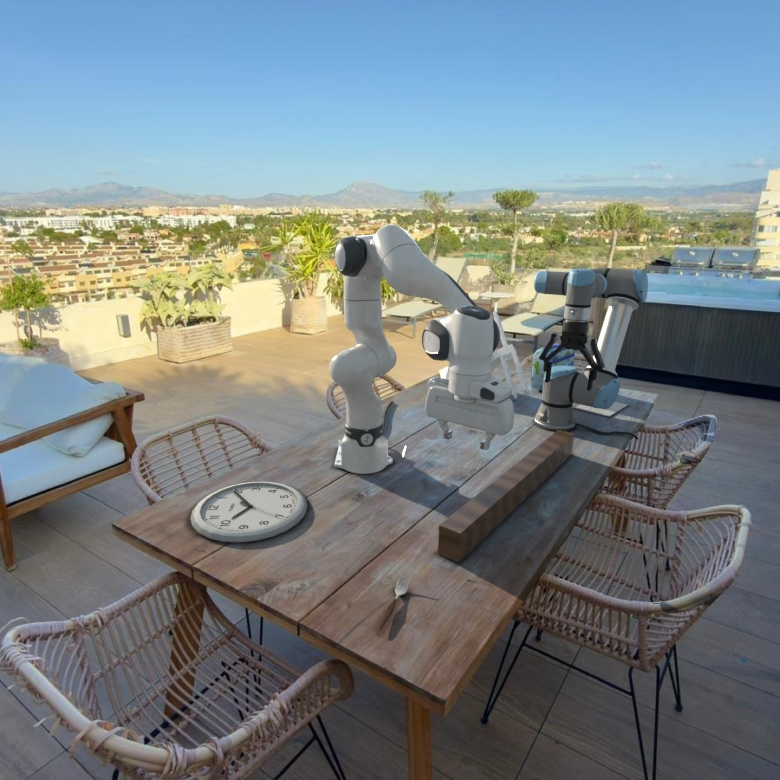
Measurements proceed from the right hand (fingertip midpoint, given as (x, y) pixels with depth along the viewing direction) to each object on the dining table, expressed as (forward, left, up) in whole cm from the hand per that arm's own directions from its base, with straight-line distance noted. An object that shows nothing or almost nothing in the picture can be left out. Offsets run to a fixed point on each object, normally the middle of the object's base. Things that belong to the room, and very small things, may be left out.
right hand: (567, 385), depth 169 cm
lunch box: (-11, -81, -25) cm, 86 cm away
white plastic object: (+24, -68, -25) cm, 76 cm away
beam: (+17, +29, -25) cm, 42 cm away
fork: (+47, +80, -25) cm, 96 cm away
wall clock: (+89, +49, -25) cm, 105 cm away
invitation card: (-28, -56, -25) cm, 68 cm away
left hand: (+34, +59, +2) cm, 68 cm away
